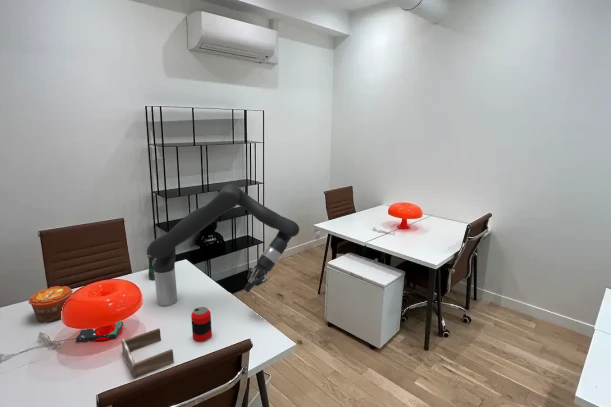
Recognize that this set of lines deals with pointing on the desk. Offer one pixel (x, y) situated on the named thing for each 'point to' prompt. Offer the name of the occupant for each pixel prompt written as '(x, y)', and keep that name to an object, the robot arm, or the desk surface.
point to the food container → (49, 303)
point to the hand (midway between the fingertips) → (245, 290)
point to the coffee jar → (151, 266)
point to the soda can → (201, 324)
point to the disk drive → (91, 336)
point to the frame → (149, 363)
